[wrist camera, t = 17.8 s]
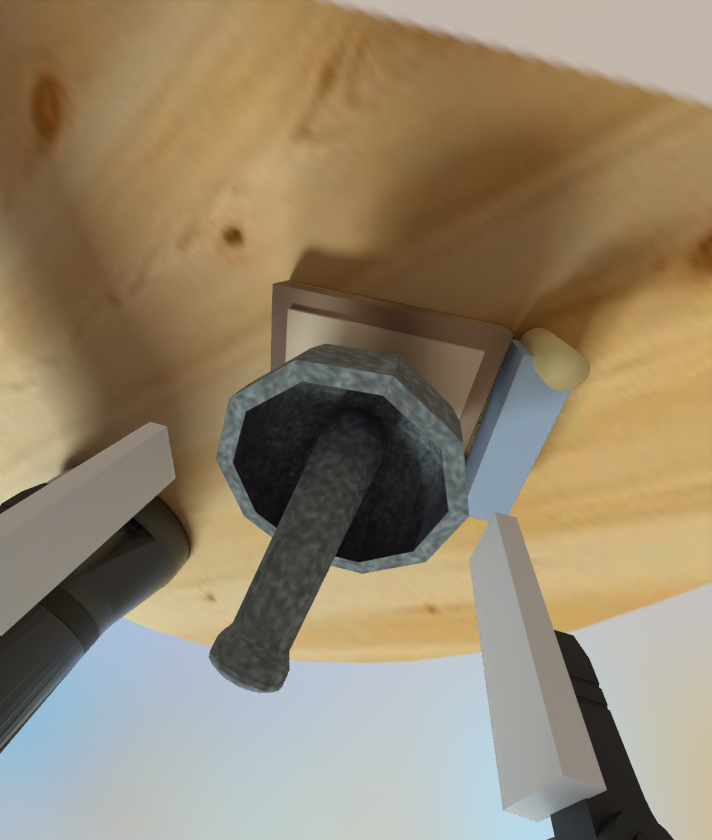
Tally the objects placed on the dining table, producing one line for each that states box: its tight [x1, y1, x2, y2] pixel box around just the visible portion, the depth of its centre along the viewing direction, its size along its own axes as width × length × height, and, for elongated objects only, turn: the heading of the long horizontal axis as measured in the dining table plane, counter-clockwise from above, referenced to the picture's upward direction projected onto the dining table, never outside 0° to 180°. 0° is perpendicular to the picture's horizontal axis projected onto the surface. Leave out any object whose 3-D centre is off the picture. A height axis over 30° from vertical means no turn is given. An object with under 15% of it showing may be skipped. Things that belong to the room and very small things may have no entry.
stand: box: [271, 280, 513, 452], centre depth 19 cm, size 12×12×2 cm
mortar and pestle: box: [209, 344, 469, 693], centre depth 13 cm, size 11×9×12 cm
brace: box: [465, 327, 590, 521], centre depth 17 cm, size 11×2×4 cm, turn 173°
